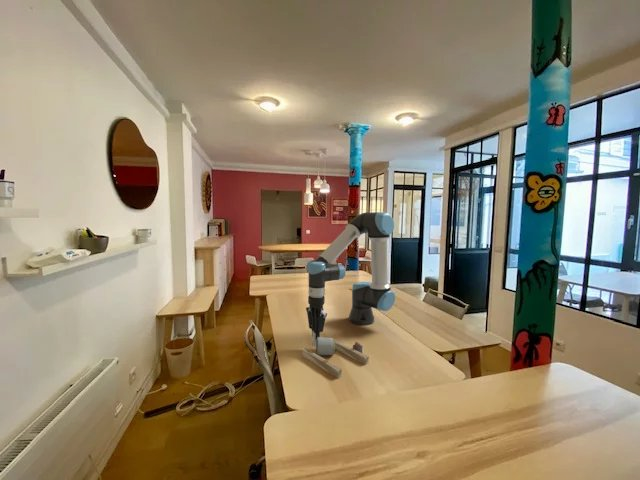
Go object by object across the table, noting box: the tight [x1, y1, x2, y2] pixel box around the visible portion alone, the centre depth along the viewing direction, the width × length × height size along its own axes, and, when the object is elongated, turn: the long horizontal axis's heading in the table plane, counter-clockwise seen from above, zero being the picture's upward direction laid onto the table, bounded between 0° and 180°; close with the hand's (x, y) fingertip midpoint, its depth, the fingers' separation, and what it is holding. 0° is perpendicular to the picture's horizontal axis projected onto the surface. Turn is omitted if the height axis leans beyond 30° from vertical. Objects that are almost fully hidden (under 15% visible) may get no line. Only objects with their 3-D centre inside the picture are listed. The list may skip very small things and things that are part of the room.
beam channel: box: [301, 339, 370, 379], centre depth 125 cm, size 22×23×5 cm
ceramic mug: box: [315, 336, 336, 356], centre depth 130 cm, size 11×8×8 cm
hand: (315, 344), depth 133 cm, fingers closed
